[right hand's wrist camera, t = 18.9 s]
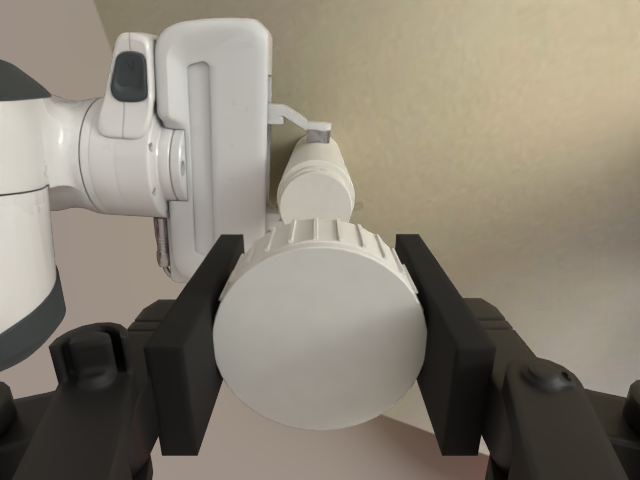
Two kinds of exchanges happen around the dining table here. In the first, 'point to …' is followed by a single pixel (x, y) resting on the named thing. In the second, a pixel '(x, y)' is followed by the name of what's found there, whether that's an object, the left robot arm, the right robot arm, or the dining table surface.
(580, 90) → the dining table surface
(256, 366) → the lid
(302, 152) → the white tall cylinder
